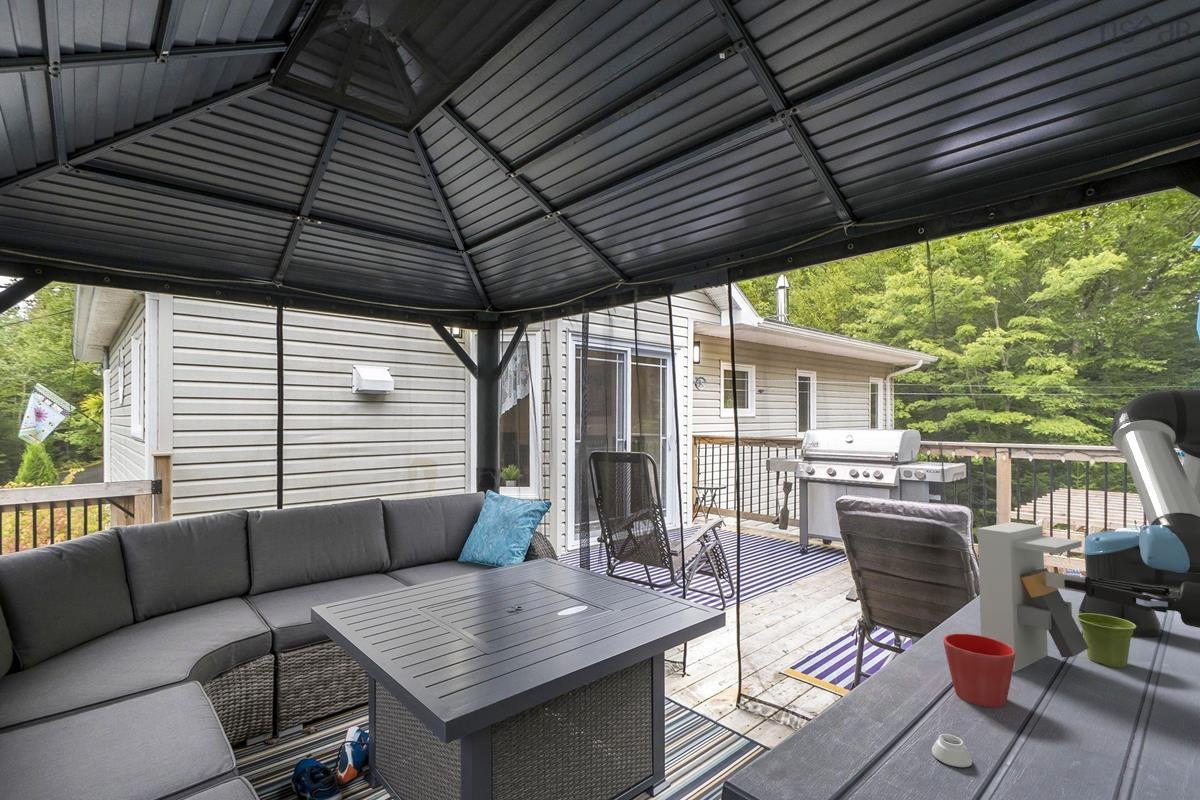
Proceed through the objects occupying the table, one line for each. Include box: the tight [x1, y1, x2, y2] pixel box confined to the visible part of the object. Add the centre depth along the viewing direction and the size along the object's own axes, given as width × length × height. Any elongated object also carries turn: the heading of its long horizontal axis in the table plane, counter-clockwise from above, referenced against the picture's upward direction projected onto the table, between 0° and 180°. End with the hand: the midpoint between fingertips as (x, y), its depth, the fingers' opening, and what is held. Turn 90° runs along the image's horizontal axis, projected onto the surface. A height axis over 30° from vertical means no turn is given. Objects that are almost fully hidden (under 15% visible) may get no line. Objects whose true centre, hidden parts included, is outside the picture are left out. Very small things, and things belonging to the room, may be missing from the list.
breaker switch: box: [1020, 567, 1089, 659], centre depth 114 cm, size 9×2×16 cm, turn 122°
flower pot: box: [942, 633, 1015, 708], centre depth 102 cm, size 11×11×10 cm
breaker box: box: [977, 521, 1083, 673], centre depth 117 cm, size 16×13×28 cm
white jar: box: [931, 733, 973, 768], centre depth 83 cm, size 5×3×5 cm
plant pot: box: [1076, 613, 1136, 668], centre depth 118 cm, size 9×9×9 cm
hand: (1047, 578), depth 114 cm, fingers closed
